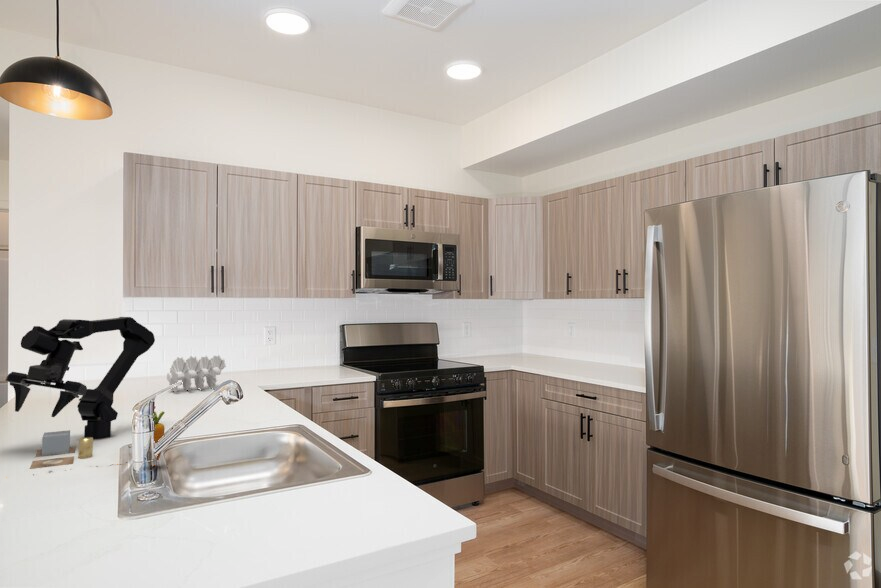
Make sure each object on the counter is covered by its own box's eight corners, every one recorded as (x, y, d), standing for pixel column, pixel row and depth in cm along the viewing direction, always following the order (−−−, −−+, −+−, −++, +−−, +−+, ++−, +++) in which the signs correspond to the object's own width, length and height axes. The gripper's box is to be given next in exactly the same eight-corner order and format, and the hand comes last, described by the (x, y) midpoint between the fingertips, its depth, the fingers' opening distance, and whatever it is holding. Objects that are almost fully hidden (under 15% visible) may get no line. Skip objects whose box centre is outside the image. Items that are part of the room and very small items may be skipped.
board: (75, 449, 153) (76, 435, 154) (74, 456, 147) (75, 441, 147) (37, 454, 149) (37, 439, 149) (34, 461, 142) (34, 445, 142)
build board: (74, 459, 143) (74, 455, 143) (73, 467, 137) (73, 463, 137) (32, 464, 138) (32, 460, 138) (29, 472, 132) (29, 468, 132)
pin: (92, 458, 145) (93, 436, 145) (92, 461, 143) (92, 438, 143) (78, 459, 143) (79, 437, 144) (77, 462, 141) (78, 440, 141)
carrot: (167, 465, 140) (169, 408, 140) (155, 470, 135) (157, 411, 135) (150, 464, 140) (151, 407, 141) (137, 469, 136) (139, 411, 136)
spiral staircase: (165, 400, 258) (215, 392, 276) (178, 388, 247) (229, 381, 265) (158, 365, 263) (208, 360, 281) (170, 352, 252) (221, 347, 271)
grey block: (69, 447, 152) (70, 430, 152) (68, 452, 147) (69, 434, 147) (43, 450, 149) (44, 432, 149) (41, 455, 143) (42, 437, 144)
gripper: (8, 346, 144) (-19, 403, 137) (81, 359, 146) (58, 415, 140) (28, 357, 154) (3, 410, 147) (96, 368, 156) (75, 421, 150)
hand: (34, 414), depth 146 cm, fingers open, 9 cm apart
